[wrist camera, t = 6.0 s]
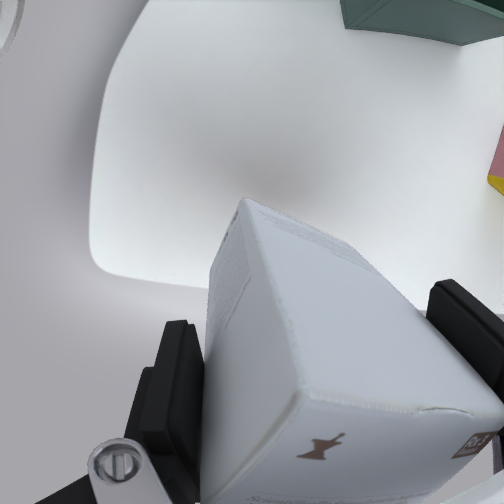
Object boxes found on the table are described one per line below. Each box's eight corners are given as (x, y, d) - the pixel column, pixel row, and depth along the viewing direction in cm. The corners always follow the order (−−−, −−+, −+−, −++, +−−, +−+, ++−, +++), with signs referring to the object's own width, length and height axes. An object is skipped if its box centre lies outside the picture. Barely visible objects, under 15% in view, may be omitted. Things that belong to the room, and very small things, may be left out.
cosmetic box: (207, 273, 16) (179, 520, 5) (243, 189, 15) (284, 390, 3) (316, 312, 17) (400, 521, 6) (357, 239, 16) (520, 417, 4)
